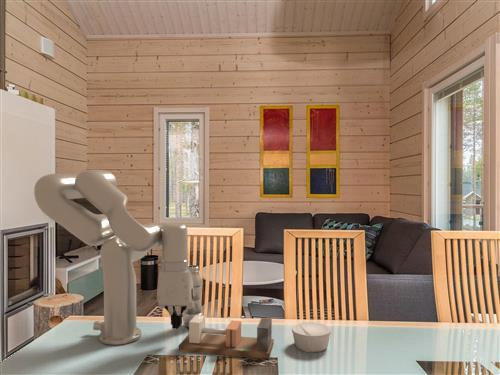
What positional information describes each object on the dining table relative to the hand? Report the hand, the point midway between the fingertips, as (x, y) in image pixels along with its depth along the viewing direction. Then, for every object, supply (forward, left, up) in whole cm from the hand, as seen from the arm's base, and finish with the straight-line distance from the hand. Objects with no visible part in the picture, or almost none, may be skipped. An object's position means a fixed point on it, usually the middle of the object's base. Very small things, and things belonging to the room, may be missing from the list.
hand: (176, 327), depth 124 cm
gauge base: (+15, 0, -5) cm, 16 cm away
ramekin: (+39, +6, -5) cm, 40 cm away
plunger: (+10, 0, -3) cm, 11 cm away
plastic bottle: (0, +14, -5) cm, 15 cm away
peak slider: (+17, -1, -3) cm, 18 cm away
